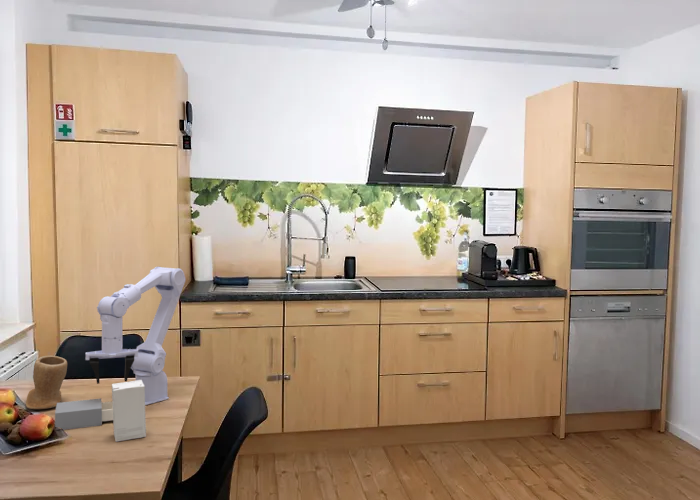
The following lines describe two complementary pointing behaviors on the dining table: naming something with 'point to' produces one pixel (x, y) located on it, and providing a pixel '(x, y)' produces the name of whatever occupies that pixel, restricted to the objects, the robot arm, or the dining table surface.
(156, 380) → the robot arm
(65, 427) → the carton
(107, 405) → the white pull-out drawer
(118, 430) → the skincare box
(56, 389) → the stone cup
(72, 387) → the dining table surface
